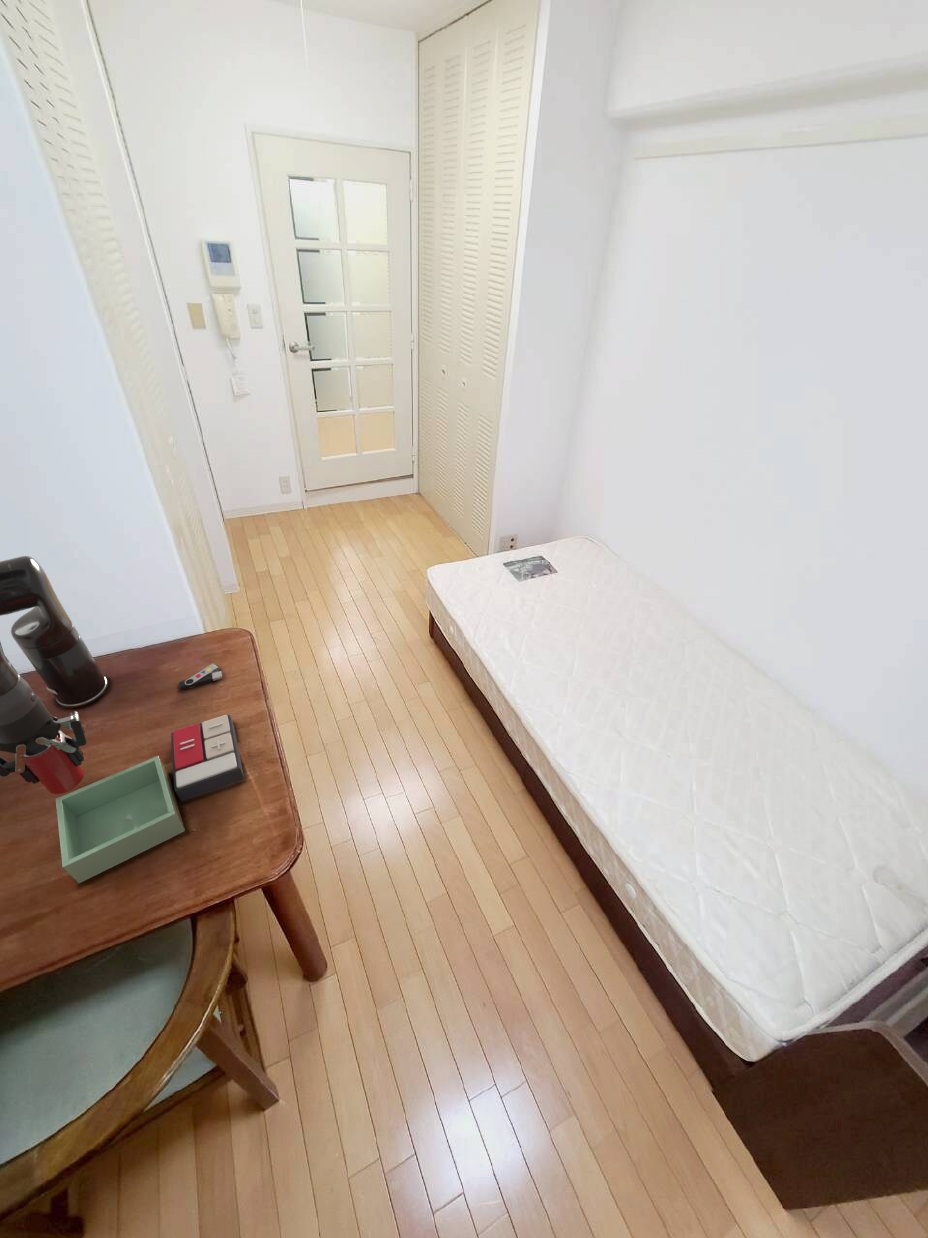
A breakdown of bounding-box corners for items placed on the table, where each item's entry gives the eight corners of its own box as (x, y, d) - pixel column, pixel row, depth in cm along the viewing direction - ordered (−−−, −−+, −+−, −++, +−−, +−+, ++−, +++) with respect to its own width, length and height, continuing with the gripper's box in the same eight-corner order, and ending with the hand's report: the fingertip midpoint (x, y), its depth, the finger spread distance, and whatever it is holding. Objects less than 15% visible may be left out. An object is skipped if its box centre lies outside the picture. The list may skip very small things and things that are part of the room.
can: (45, 776, 90) (15, 739, 83) (82, 761, 93) (55, 724, 86) (48, 799, 87) (16, 763, 80) (86, 783, 89) (58, 747, 83)
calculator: (229, 711, 103) (239, 766, 92) (234, 725, 106) (244, 780, 95) (169, 729, 99) (172, 789, 88) (176, 743, 102) (180, 803, 91)
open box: (71, 817, 88) (55, 799, 84) (169, 774, 96) (158, 755, 92) (80, 885, 80) (62, 867, 76) (186, 832, 87) (174, 814, 83)
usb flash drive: (181, 691, 111) (179, 688, 111) (179, 675, 115) (178, 672, 114) (222, 679, 114) (221, 676, 114) (220, 664, 118) (219, 661, 117)
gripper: (60, 673, 83) (102, 737, 94) (-54, 710, 76) (6, 775, 87) (64, 702, 78) (108, 766, 89) (-56, 744, 72) (7, 808, 82)
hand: (57, 770), depth 88 cm, fingers closed on can, 5 cm apart
